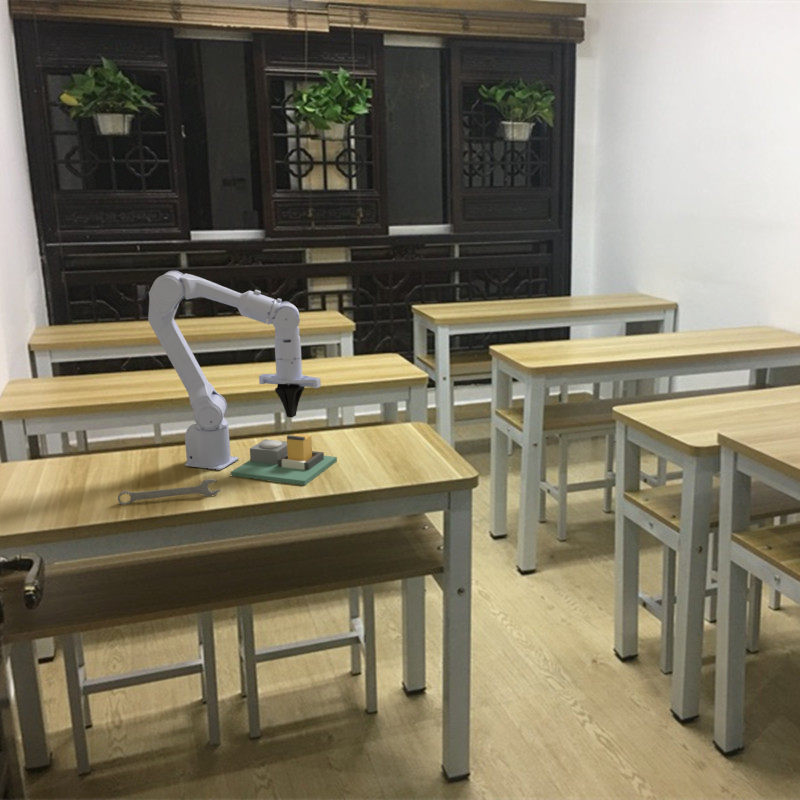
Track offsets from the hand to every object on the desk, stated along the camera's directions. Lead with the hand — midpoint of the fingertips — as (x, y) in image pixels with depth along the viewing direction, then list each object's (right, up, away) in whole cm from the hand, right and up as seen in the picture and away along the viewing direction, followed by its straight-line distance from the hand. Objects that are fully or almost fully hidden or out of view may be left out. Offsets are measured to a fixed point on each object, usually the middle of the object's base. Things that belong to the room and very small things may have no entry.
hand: (291, 416), depth 180 cm
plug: (+2, -10, -3) cm, 11 cm away
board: (-1, -12, -3) cm, 12 cm away
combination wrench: (-22, -17, -20) cm, 34 cm away
